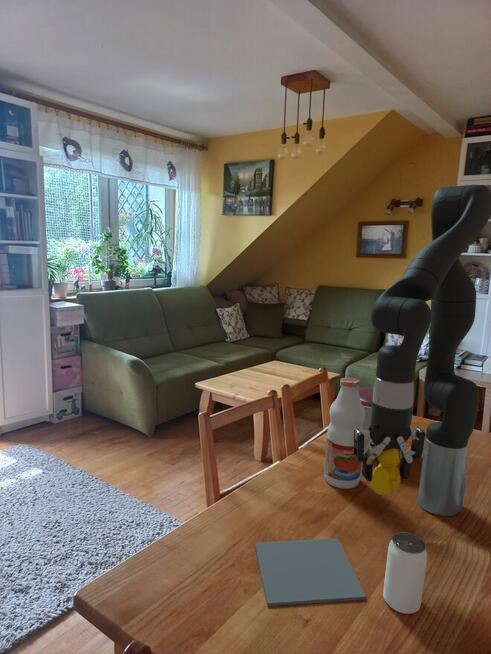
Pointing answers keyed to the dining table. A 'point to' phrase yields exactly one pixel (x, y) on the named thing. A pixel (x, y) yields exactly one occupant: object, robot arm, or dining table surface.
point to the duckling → (387, 472)
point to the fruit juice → (344, 436)
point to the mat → (306, 572)
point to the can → (405, 573)
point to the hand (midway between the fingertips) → (385, 478)
